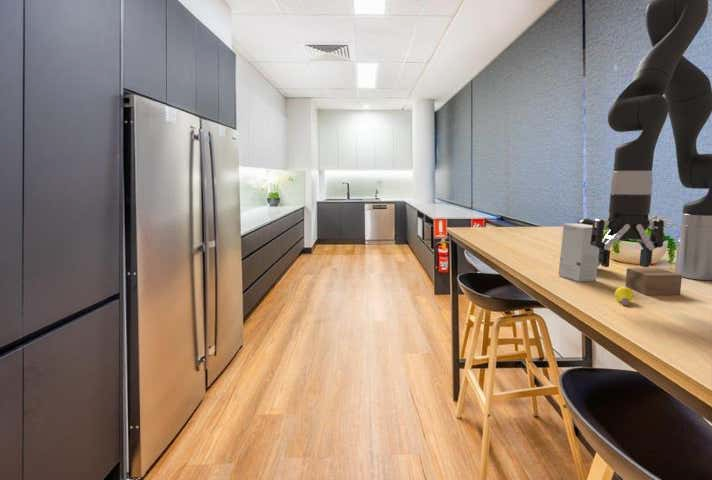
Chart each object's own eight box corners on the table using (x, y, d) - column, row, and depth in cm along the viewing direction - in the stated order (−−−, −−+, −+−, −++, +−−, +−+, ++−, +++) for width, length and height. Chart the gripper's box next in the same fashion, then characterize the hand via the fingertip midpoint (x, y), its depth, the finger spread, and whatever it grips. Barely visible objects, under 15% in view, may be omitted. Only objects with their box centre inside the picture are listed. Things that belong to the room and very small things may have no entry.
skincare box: (557, 275, 123) (560, 223, 121) (576, 274, 125) (579, 222, 123) (579, 282, 115) (583, 226, 113) (598, 281, 117) (602, 225, 115)
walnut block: (625, 287, 111) (626, 268, 110) (657, 287, 110) (659, 268, 110) (645, 296, 103) (647, 275, 102) (680, 295, 102) (682, 275, 102)
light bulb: (627, 299, 99) (634, 287, 97) (630, 313, 94) (638, 300, 93) (611, 294, 100) (618, 281, 98) (613, 308, 95) (621, 295, 94)
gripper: (652, 192, 97) (646, 263, 100) (588, 191, 98) (583, 263, 100) (676, 193, 90) (668, 270, 92) (606, 192, 90) (600, 269, 93)
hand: (624, 266), depth 96 cm, fingers open, 8 cm apart
